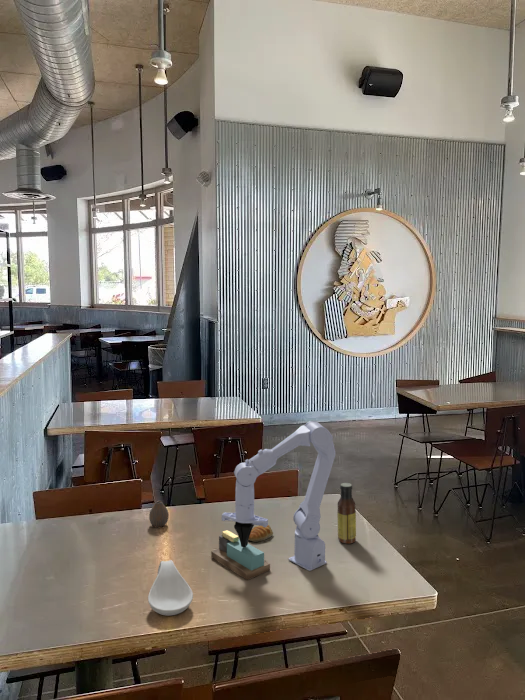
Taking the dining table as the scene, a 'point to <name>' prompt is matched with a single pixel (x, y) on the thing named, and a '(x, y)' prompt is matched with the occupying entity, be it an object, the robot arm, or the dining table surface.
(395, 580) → the dining table surface
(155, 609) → the spoon rest
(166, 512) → the grey oval piece
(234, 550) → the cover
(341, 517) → the sauce bottle
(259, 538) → the pastry
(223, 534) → the tan rectangular bar
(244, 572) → the base
